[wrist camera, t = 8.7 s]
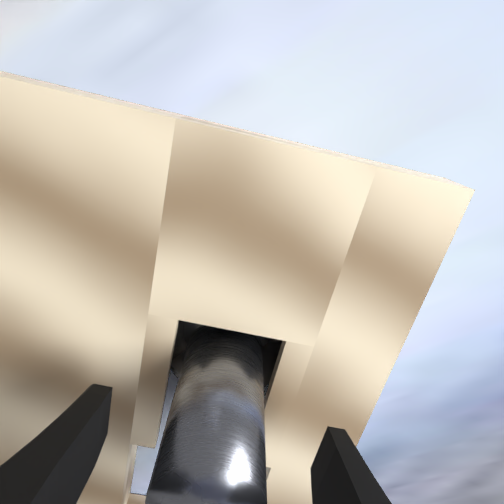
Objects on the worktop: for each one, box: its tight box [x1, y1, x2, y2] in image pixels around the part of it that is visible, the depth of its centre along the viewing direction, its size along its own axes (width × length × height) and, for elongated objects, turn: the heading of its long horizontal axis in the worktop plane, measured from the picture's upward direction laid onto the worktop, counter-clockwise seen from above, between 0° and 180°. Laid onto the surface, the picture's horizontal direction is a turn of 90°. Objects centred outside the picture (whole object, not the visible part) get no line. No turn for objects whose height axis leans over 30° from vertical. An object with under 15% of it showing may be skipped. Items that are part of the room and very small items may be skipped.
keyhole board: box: [0, 71, 475, 504], centre depth 16 cm, size 22×18×2 cm
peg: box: [145, 320, 283, 504], centre depth 13 cm, size 5×5×8 cm
